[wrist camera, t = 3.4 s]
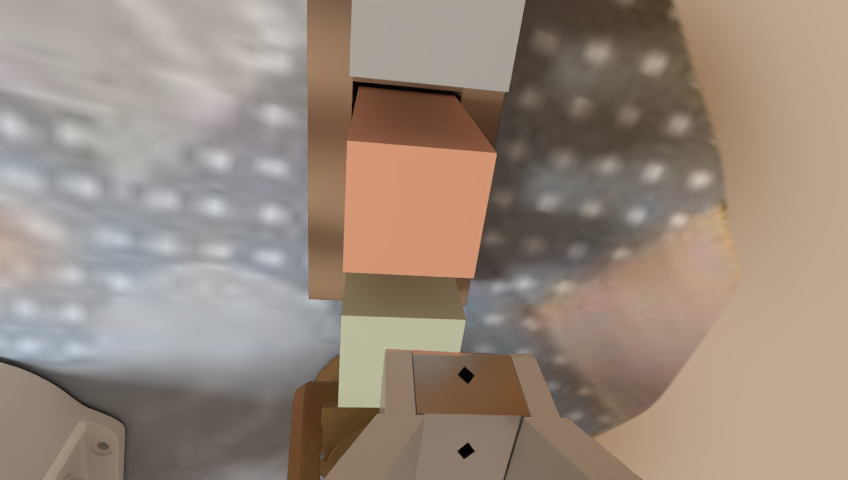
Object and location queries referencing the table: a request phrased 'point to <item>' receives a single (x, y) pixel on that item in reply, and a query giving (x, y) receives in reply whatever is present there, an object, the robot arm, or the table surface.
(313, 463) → the lantern
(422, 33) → the slate block
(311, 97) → the walnut rack
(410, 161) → the terracotta block
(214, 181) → the table surface
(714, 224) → the table surface
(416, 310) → the sage block
